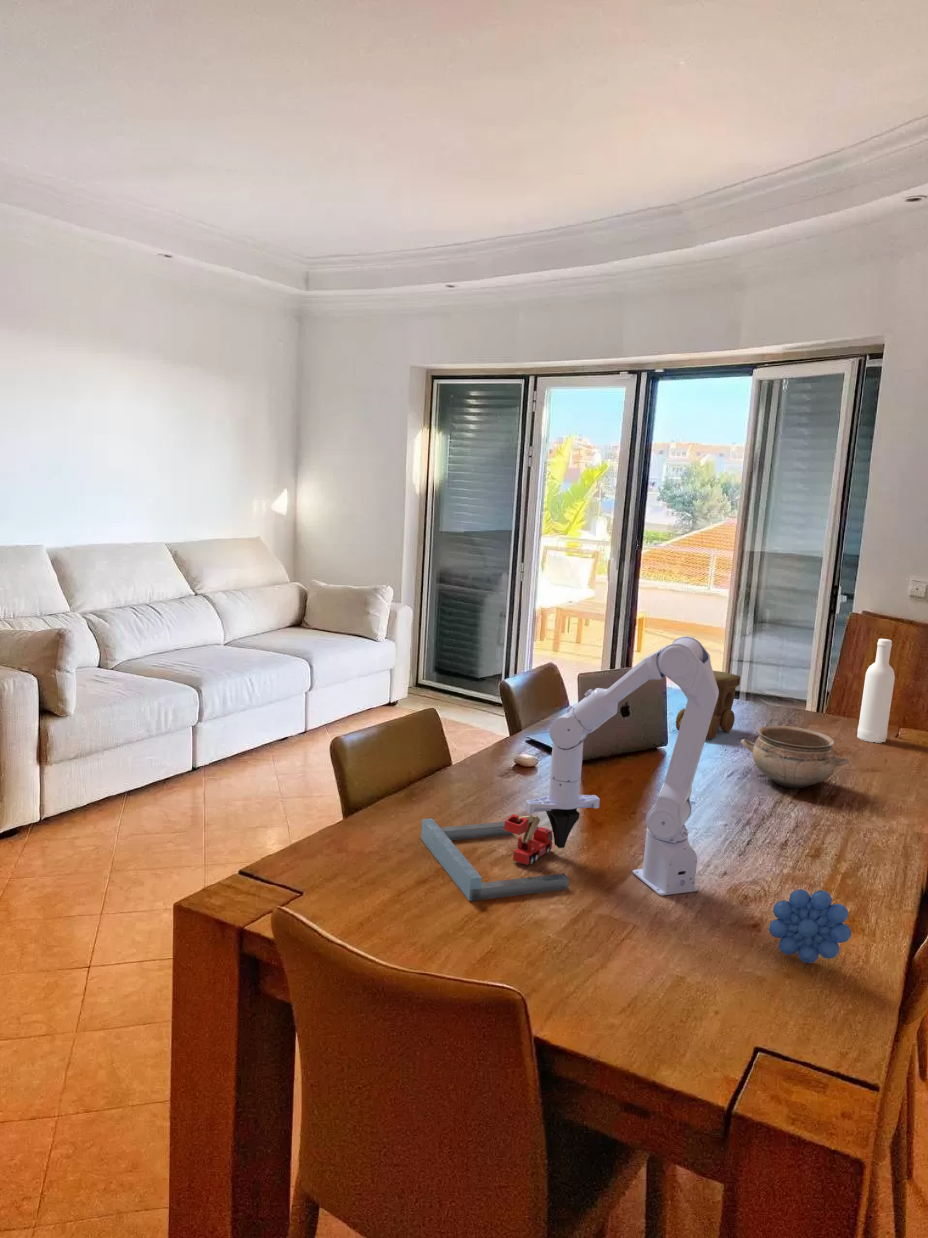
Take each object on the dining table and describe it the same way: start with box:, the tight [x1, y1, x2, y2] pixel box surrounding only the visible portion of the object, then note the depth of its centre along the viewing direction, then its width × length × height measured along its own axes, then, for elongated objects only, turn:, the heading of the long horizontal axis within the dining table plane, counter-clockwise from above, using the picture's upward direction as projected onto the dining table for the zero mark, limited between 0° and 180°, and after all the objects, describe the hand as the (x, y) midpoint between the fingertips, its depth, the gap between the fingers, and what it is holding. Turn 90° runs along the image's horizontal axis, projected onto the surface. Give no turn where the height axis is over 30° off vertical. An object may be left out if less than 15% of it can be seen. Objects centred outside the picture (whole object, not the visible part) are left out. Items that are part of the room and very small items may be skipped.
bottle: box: [856, 638, 896, 744], centre depth 262 cm, size 8×8×30 cm
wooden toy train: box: [675, 670, 741, 740], centre depth 260 cm, size 20×11×17 cm, turn 140°
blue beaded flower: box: [768, 888, 852, 964], centre depth 136 cm, size 12×7×12 cm, turn 56°
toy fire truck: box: [504, 813, 553, 866], centre depth 166 cm, size 3×14×10 cm, turn 145°
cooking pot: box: [740, 725, 850, 789], centre depth 218 cm, size 25×19×12 cm
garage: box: [420, 817, 570, 902], centre depth 164 cm, size 26×18×4 cm
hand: (559, 845), depth 169 cm, fingers closed
